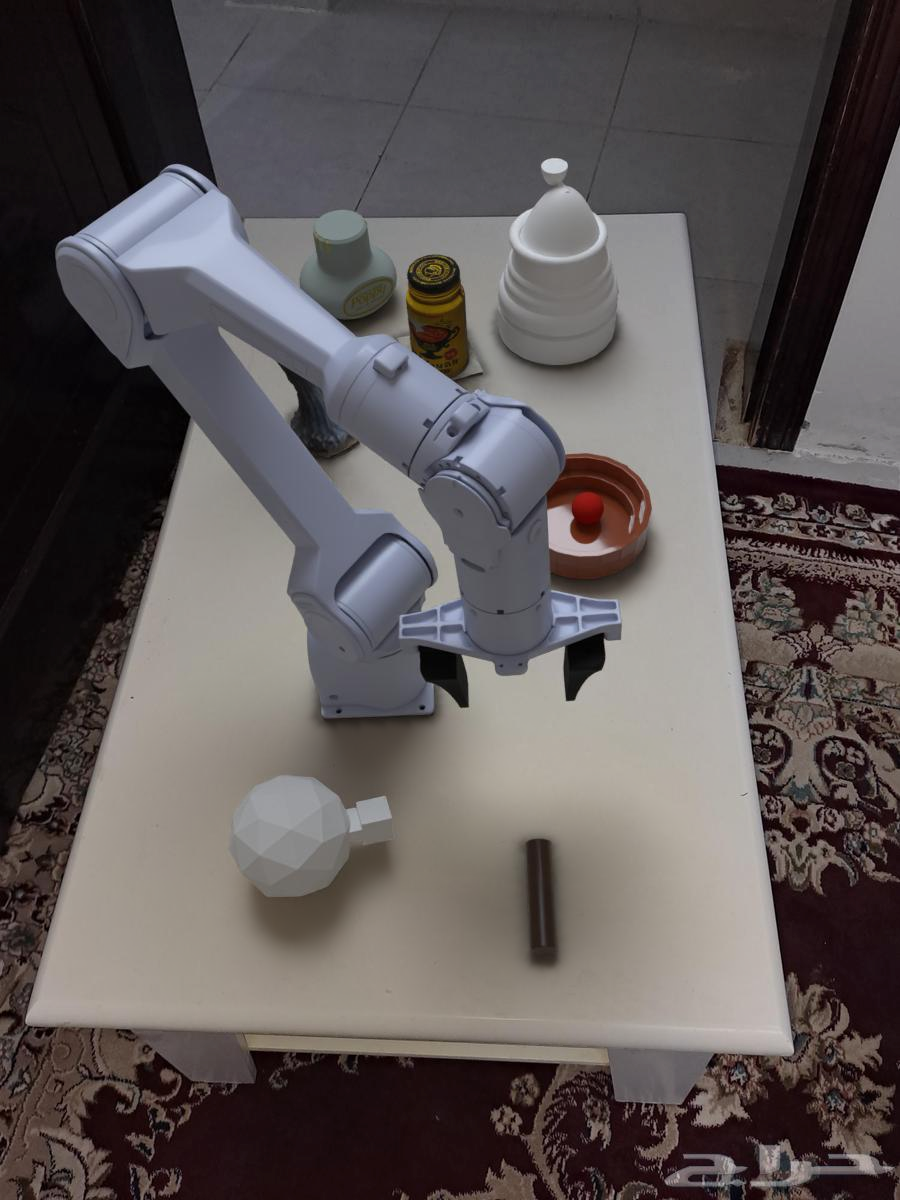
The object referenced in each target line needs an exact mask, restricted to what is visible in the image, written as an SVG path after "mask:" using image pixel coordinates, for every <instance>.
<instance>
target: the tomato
mask: <svg viewBox="0 0 900 1200" xmlns="http://www.w3.org/2000/svg"><path fill="white" fill-rule="evenodd" d="M571 510H572V514H573V516H574V518H575V519H576V520H577V521H578V522H580V523H582V524H587V525H588V524H593V523H595V522H597V521H598V520H599V519H600V518H601V517H602V515H603V512H604V505H603V502H602V500H601V498H600V497H599V496H598V495H596V494H594V493H591V492H585V493H581V494H579V495H578V496H577V497H576V498H575V499H574V501H573V503H572V507H571Z"/></svg>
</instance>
